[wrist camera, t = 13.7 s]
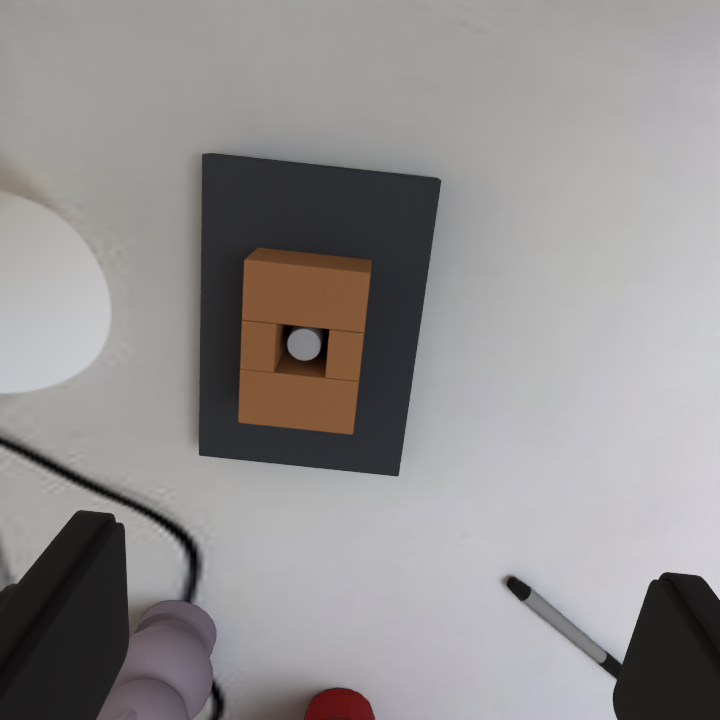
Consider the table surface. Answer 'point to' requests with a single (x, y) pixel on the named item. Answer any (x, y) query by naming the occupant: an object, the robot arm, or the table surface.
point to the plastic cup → (339, 706)
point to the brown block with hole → (309, 309)
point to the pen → (564, 626)
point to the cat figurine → (165, 666)
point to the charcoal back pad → (320, 231)
